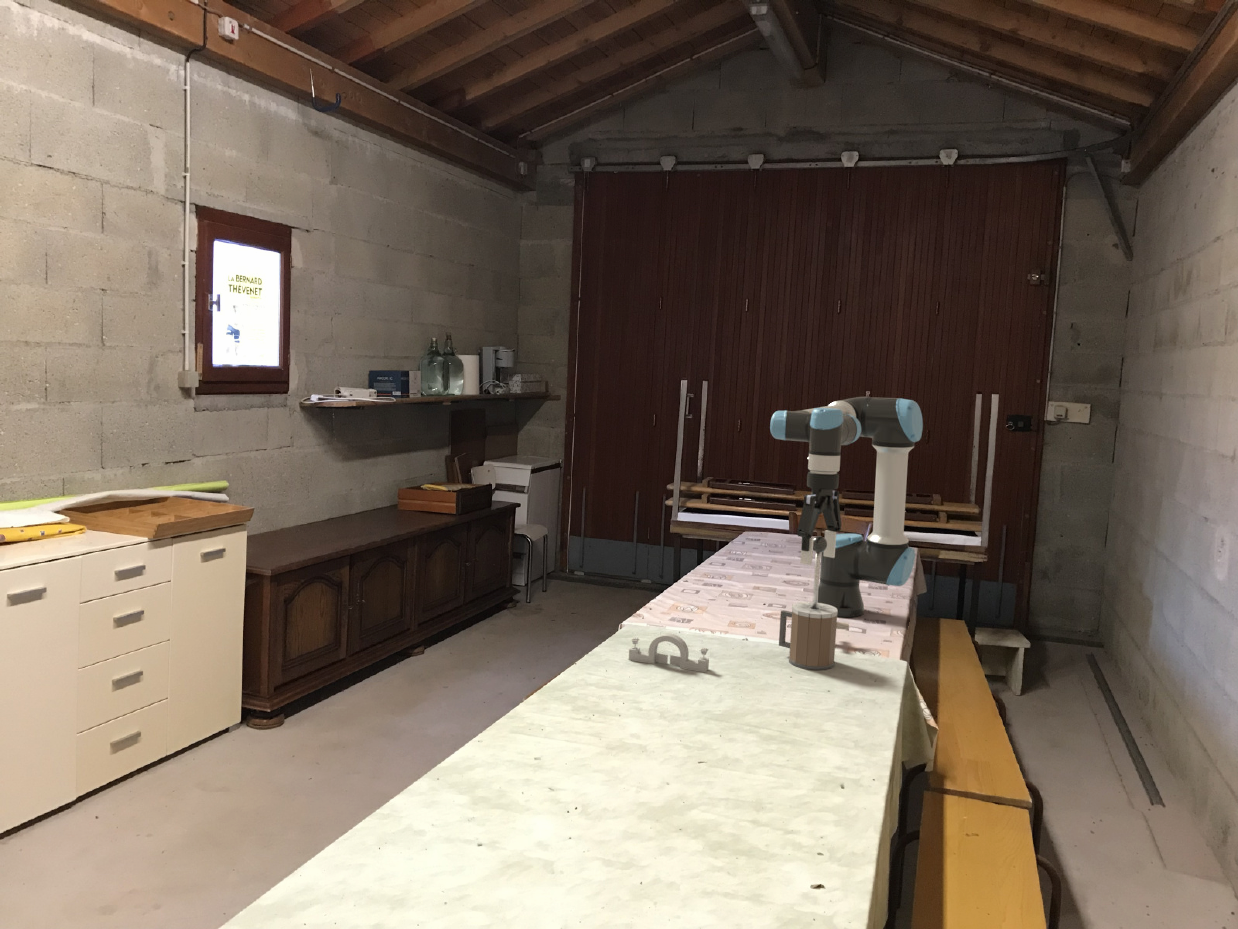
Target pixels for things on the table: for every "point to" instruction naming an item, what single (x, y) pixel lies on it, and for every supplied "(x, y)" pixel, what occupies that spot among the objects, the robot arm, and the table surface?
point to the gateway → (674, 660)
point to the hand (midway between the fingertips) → (817, 560)
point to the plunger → (817, 565)
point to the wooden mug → (810, 635)
